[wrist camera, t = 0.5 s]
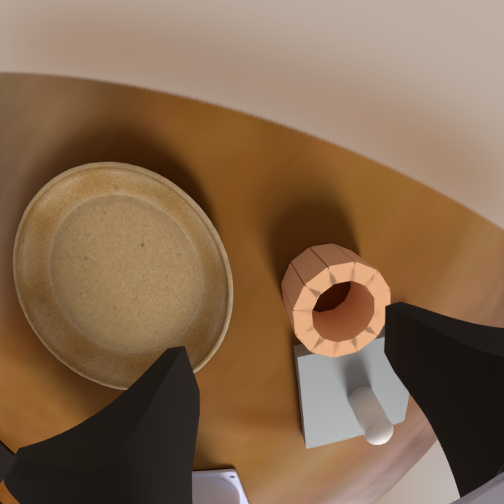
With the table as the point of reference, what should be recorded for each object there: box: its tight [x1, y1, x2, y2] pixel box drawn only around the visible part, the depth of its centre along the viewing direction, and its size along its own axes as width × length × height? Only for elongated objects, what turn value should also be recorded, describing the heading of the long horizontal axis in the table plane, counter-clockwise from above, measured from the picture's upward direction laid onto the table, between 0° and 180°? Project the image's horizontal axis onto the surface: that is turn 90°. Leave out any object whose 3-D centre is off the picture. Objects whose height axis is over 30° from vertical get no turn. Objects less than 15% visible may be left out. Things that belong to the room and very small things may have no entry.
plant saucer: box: [13, 162, 233, 390], centre depth 18 cm, size 15×15×3 cm
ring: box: [281, 243, 390, 358], centre depth 19 cm, size 6×6×4 cm
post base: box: [293, 325, 409, 449], centre depth 20 cm, size 10×9×6 cm
